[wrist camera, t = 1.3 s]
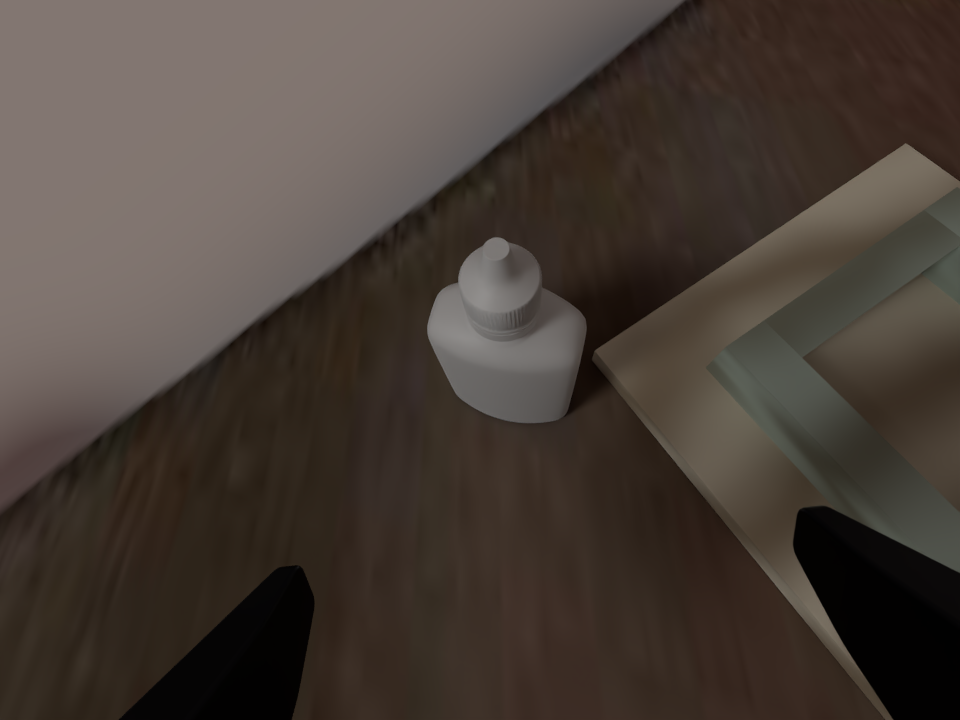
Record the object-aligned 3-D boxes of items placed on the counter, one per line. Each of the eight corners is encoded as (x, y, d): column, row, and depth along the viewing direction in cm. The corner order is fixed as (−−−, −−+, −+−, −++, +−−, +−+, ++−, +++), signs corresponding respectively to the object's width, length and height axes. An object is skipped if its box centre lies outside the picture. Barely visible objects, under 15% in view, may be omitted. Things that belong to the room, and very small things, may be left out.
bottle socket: (1315, 473, 19) (1488, 457, 16) (951, 799, 17) (1059, 865, 13) (890, 160, 26) (944, 102, 23) (591, 359, 24) (601, 328, 20)
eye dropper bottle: (501, 323, 25) (477, 145, 14) (587, 393, 23) (637, 253, 12) (442, 383, 24) (364, 244, 13) (525, 460, 22) (519, 376, 11)
